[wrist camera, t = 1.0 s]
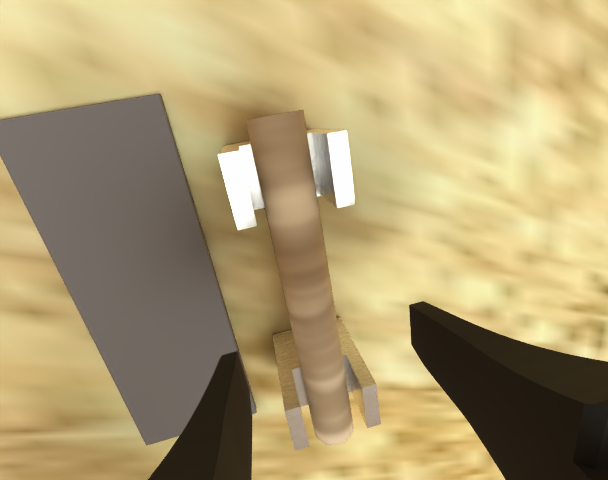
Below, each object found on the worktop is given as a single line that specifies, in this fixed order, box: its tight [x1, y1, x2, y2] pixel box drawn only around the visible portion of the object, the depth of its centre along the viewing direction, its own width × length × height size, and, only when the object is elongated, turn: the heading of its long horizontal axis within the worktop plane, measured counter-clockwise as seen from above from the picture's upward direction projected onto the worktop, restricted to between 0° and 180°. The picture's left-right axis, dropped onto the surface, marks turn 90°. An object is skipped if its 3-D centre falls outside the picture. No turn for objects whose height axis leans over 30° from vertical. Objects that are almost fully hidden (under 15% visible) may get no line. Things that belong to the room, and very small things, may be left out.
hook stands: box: [218, 129, 381, 451], centre depth 18 cm, size 16×5×6 cm, turn 10°
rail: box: [246, 110, 353, 446], centre depth 16 cm, size 18×2×2 cm, turn 10°
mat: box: [0, 94, 256, 445], centre depth 20 cm, size 22×8×1 cm, turn 10°
